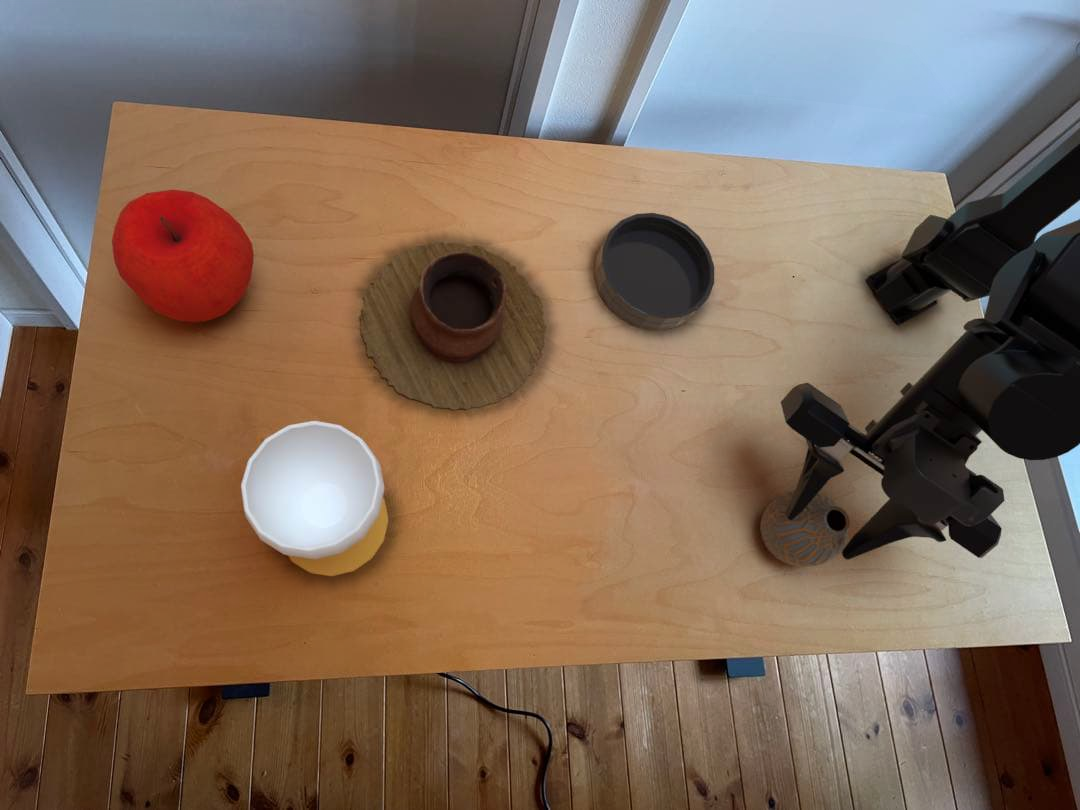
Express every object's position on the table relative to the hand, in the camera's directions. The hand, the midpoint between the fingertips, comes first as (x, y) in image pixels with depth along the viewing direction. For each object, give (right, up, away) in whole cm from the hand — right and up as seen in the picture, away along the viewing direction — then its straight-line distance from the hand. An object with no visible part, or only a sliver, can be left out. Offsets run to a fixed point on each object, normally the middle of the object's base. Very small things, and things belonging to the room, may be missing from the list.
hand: (815, 536), depth 58 cm
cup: (-42, +1, -1) cm, 42 cm away
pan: (-12, +25, +13) cm, 31 cm away
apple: (-54, +21, +3) cm, 58 cm away
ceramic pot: (-32, +19, +7) cm, 38 cm away
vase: (-1, -1, +7) cm, 7 cm away
